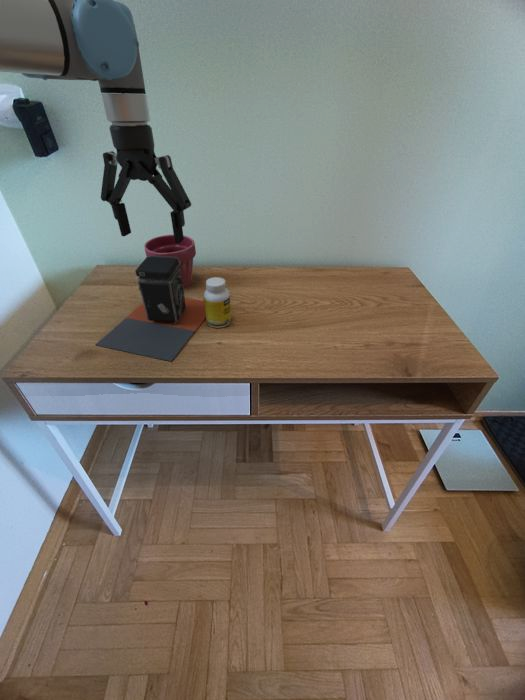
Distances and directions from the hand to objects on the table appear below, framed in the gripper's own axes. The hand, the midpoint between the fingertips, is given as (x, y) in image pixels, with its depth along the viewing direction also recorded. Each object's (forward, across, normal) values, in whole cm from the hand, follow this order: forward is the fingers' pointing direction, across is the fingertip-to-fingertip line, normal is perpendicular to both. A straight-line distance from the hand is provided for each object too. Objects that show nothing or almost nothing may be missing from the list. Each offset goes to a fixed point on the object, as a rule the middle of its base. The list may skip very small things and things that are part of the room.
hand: (152, 238), depth 73 cm
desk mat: (+21, 0, +4) cm, 21 cm away
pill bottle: (+21, -14, -2) cm, 25 cm away
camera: (+21, 0, 0) cm, 21 cm away
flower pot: (+21, +7, -18) cm, 28 cm away
